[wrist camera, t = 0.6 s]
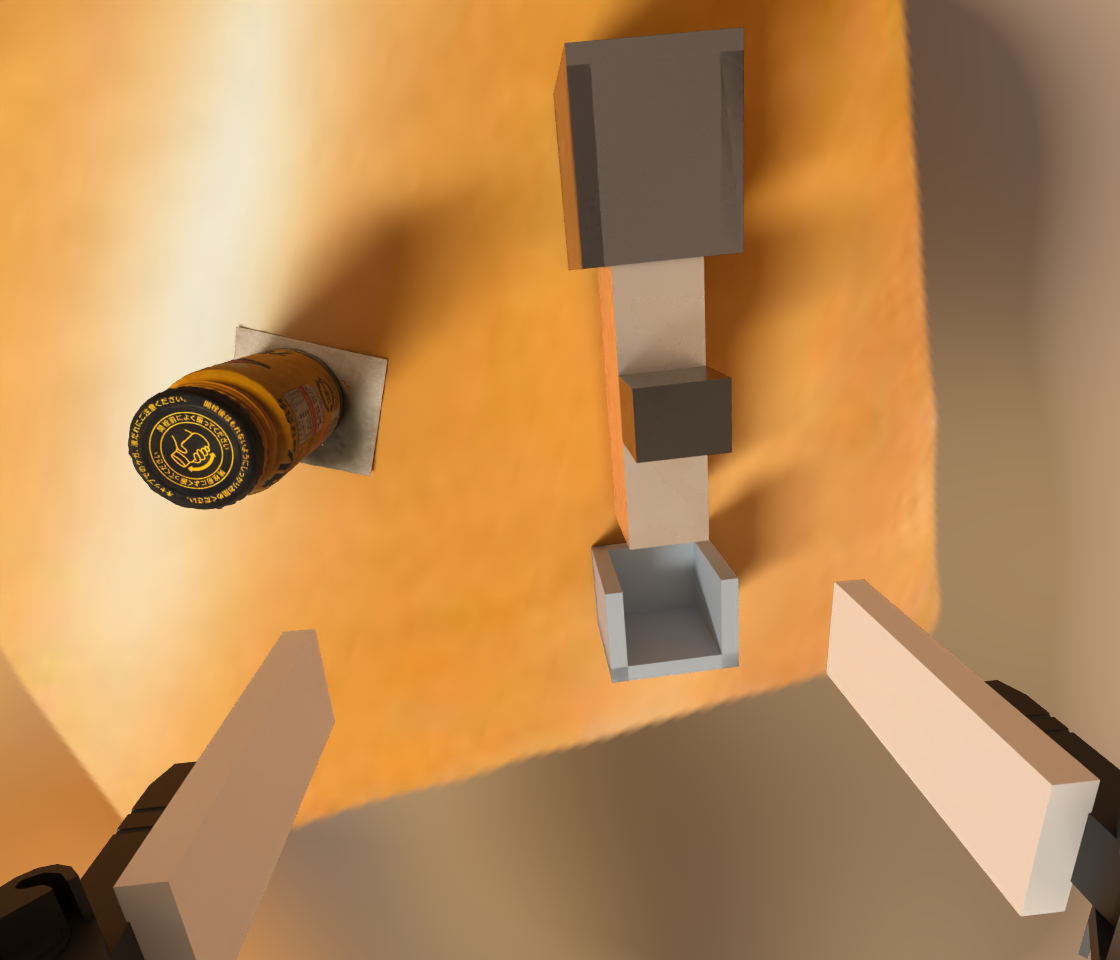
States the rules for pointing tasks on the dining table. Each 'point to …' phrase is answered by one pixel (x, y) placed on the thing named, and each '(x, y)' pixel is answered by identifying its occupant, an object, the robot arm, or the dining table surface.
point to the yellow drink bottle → (258, 420)
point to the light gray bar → (661, 400)
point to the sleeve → (652, 147)
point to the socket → (665, 609)
